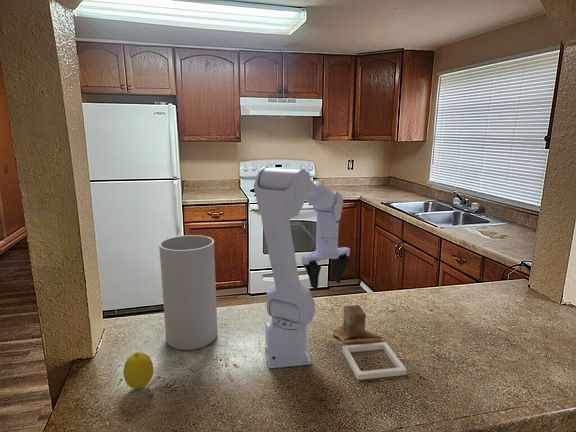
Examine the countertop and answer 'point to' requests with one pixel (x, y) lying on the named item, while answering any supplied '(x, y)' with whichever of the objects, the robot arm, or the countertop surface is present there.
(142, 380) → the lemon
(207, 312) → the cylinder vase
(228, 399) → the countertop surface
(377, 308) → the countertop surface
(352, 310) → the walnut block
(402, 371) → the white flat square frame
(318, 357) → the countertop surface
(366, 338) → the shard
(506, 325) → the countertop surface
